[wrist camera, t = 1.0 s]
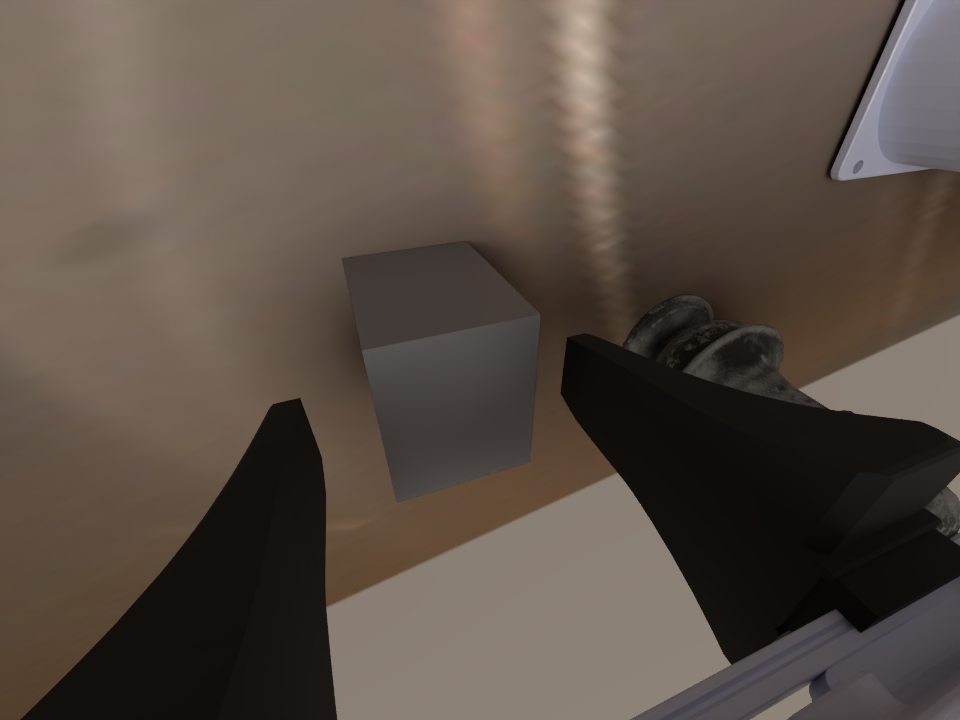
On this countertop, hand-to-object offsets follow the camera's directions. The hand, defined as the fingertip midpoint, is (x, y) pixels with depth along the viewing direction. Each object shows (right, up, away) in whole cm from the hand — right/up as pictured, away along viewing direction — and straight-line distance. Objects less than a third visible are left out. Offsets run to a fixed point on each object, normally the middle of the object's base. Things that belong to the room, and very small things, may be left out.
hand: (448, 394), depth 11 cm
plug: (-1, +2, +3) cm, 5 cm away
